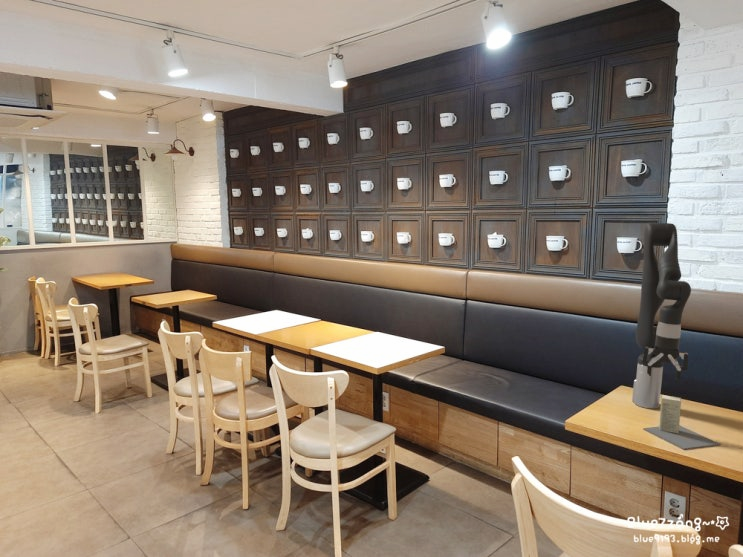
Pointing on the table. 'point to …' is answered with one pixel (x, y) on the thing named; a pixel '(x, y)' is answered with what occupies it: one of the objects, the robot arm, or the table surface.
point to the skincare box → (670, 414)
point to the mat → (682, 438)
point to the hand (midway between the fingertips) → (662, 377)
